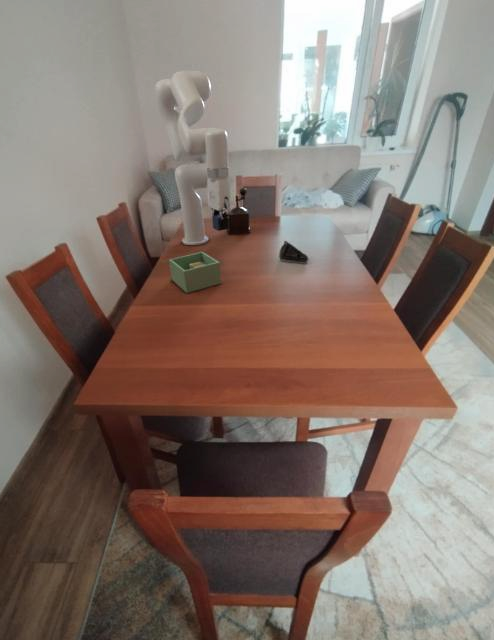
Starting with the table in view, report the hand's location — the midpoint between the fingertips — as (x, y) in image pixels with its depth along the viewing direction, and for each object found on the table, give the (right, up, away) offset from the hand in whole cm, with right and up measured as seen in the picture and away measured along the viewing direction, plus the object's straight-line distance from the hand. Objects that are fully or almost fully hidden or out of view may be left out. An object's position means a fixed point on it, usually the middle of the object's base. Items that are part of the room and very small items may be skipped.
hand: (220, 227), depth 126 cm
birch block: (-8, -20, -4) cm, 22 cm away
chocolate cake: (+30, -10, +8) cm, 33 cm away
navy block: (0, 0, 0) cm, 0 cm away
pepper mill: (+8, +17, +43) cm, 47 cm away
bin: (-9, -22, -5) cm, 25 cm away
